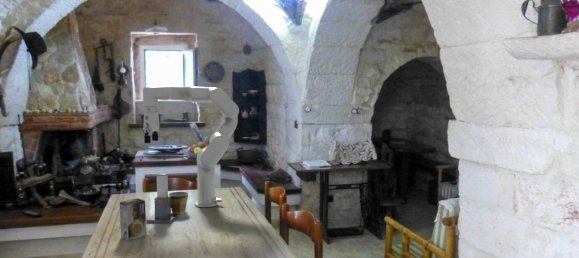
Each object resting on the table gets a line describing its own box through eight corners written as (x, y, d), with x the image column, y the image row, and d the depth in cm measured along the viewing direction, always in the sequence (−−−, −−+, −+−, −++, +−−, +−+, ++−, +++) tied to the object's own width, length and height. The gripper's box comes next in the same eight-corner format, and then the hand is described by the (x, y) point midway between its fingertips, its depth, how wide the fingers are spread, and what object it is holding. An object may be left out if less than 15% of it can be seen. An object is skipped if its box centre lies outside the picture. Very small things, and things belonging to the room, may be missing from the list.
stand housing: (179, 216, 232) (178, 194, 231) (170, 223, 220) (169, 200, 219) (156, 215, 233) (155, 193, 232) (146, 222, 222) (145, 199, 220)
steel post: (168, 204, 228) (167, 173, 226) (165, 207, 224) (164, 175, 222) (160, 204, 228) (159, 173, 227) (157, 206, 224) (156, 174, 223)
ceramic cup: (192, 212, 240) (192, 193, 239) (175, 216, 232) (175, 197, 231) (178, 207, 248) (178, 189, 247) (162, 211, 241) (161, 192, 240)
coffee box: (138, 232, 207) (137, 197, 205) (146, 235, 203) (145, 200, 201) (120, 237, 200) (119, 201, 198) (128, 241, 196) (127, 204, 194)
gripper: (150, 110, 232) (151, 144, 233) (163, 108, 249) (164, 140, 250) (136, 110, 233) (137, 143, 234) (150, 108, 250) (151, 139, 251)
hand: (151, 141), depth 242 cm, fingers open, 9 cm apart
